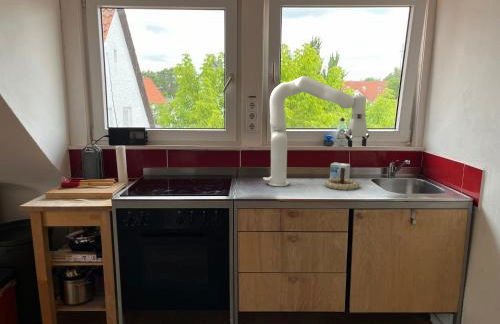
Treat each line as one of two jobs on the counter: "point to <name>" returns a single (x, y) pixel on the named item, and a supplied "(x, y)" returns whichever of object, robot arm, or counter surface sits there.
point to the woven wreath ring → (349, 186)
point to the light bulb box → (336, 169)
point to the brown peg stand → (342, 176)
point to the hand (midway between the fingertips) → (356, 146)
